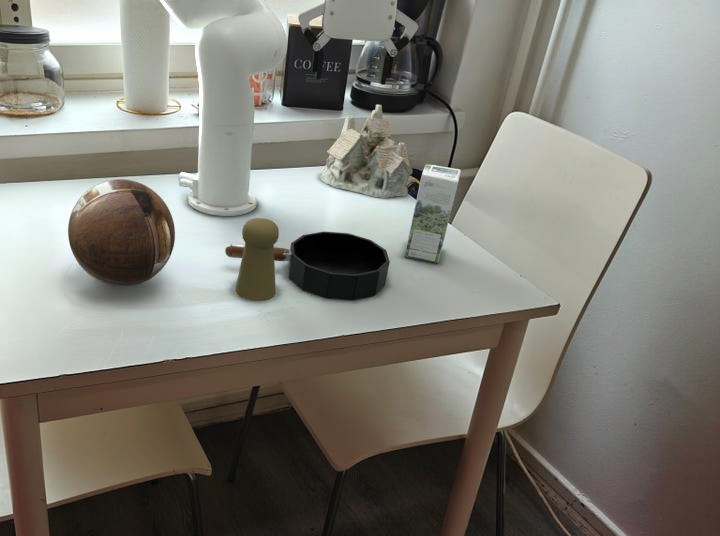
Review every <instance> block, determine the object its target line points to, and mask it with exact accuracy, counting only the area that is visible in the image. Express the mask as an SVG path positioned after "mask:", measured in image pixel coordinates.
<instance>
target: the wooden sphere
mask: <svg viewBox="0 0 720 536" xmlns="http://www.w3.org/2000/svg"><path fill="white" fill-rule="evenodd" d="M67 225H68V226H67V227H68V228H67V237H68V244H69V247H70V251H71V253H72V255H73V258H75V261H76V262H77V264H78V265H79V266H80V268H82V269H83V270H84V272H86V273H87V274H88V275H89V276H90V277H92V278H93V279H95V280H97V281H99V282H101V283H103V284H106V285H109V286H113V287H133V286H137V285H140V284H143V283H146V282H148V281H149V280H151V279H152V278H154V277H155V276H156V275H158V274H159V273H160V272H161V271H162V270H163V269H164V268H165V266H166V265H167V263H168V262H169V260H170V258H171V256H172V254H173V250H174V247H175V242H176V227H175V222H174V218H173V215H172V213H171V211H170V208H169V207H168V205H167V203H166V202H165V201H164V199H163V198H162V197H161V196H160V195H159V194H158V193H157V192H156V191H155V190H153V189H152V188H150V187H149V186H147V185H146V184H143V183H141V182H138V181H135V180H131V179H125V178H117V179H116V178H114V179H109V180H105V181H102V182H99V183H97V184H95V185H93V186H92V187H90V188H89V189H88V190H86V191H85V192H84V193H83V194H82V195H81V196H80V197H79V198H78V199H77V201H76V203H75V204H74V206H73V208H72V210H71V213H70V216H69V219H68V224H67Z"/></svg>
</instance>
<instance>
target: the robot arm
mask: <svg viewBox="0 0 720 536" xmlns="http://www.w3.org/2000/svg"><path fill="white" fill-rule="evenodd" d="M159 1H160V2H161V4H162V5H163V7H164V8H165V9H166V11H167V12H168V13H169V14H170V16H171V17H172V19H173V20H174V21H175V22H176V23H177V24H178V25H179V26H181V27H183V28H185V29H188V30H199V29H202V30H201V31H200V33H199V35H198V36H197V39H196V43H195V61H196V62H195V63H196V68H197V75H198V84H199V121H198V123H199V124H198V125H199V128H198V155H197V156H198V157H197V158H198V159H197V173H195V174H191V173H188V172H184V171H180V173H179V175H178V181H179V182H178V185H179V187H182V188H189V189H190V190H191V192H190V193H189V194H188V204H189V205H190V206H191V207H192V209H195V210H196V211H198V212H201V213H204V214H208V215H213V216H219V217H234V216H235V217H236V216H241V215H246V214H248V213H251V212H252V211H253V210H255V208H256V207H257V201H258V200H257V197H256V196H255V195H254V194H253V193H252V192H250V182H251V181H250V180H251V167H252V166H251V165H252V153H253V139H254V126H255V114H256V113H255V111H256V110H255V109H256V105H255V98H254V93H253V90H252V86H251V82H250V77H252V76H257V75H261V74H264V73H268V72H270V71H273V70H275V69H277V68H278V67H279V66H280V65H281V64H282V63H283V61H284V59H286V58H285V57H286V55H287V51H288V38H287V34H286V30H285V27H284V26H283V24H282V22H281V21H280V19H279V17H278V16H277V15H276V14H275V12H274V11H273V10H272V8H271V7H270V5H269V4H268V3H267V2H266V0H159ZM397 5H398V0H324V2H323V3H320V4H319V5H316V6H314V7H311V8H309V9H307V10H305V11H303V12H301V13H299V14H298V16H297V19H298V23H299V26H300V28H301V31H302V33H303V37H304V38H305V40H307V42H308V43H309V44H310V46H311V48H312V49H313V53H312V63H311V73H314V77H315V80H316V81H320V80H322V76H323V75H322V74H323V66H324V58H325V57H324V56H325V50H324V46H325V45H327V43H329V41H330V40H331V39H332V38H333V39H338V40H350V41H352V40H353V41H365V42H381V43H382V45H383V47H384V48H385V49H384V52H383V53H382V54H381V59H380V65H379V71H378V77H377V80H378V82H379V84H380V85H382V86H385V85H386V82H387V79H390V78H391V75H392V70H393V63H394V58H395V57H396V56H397V55H398V54H399V53H400V51H402V50H403V49H404V48H405V47H407V46H408V45H409V43H410V41H411V40H412V38H413V37H414V35H415V34H416V33H417V32H418V30H419V24H418V23H417V22H416V21H414V20H413V19H411V18H410V17H409V16H407V15H406V14H405V13H403V12H402V11H400V9H398V7H397ZM321 16H322V17H321ZM319 17H321V28H322V30H321V31H320V32H319V33H318V34H317V35H316V34H315V32H313V30H312V28H311V25H310V22H311V21H312V20H314V19H317V18H319ZM396 22H397V23H399V24H400V25H402V26H403V27H404V31H403V32H402V34H401V35H400V36H399V37H398V38H397V39H395V40H394V41H393V40H392V39H391V38H392V36H393V33H394V30H395V24H396Z"/></svg>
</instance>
